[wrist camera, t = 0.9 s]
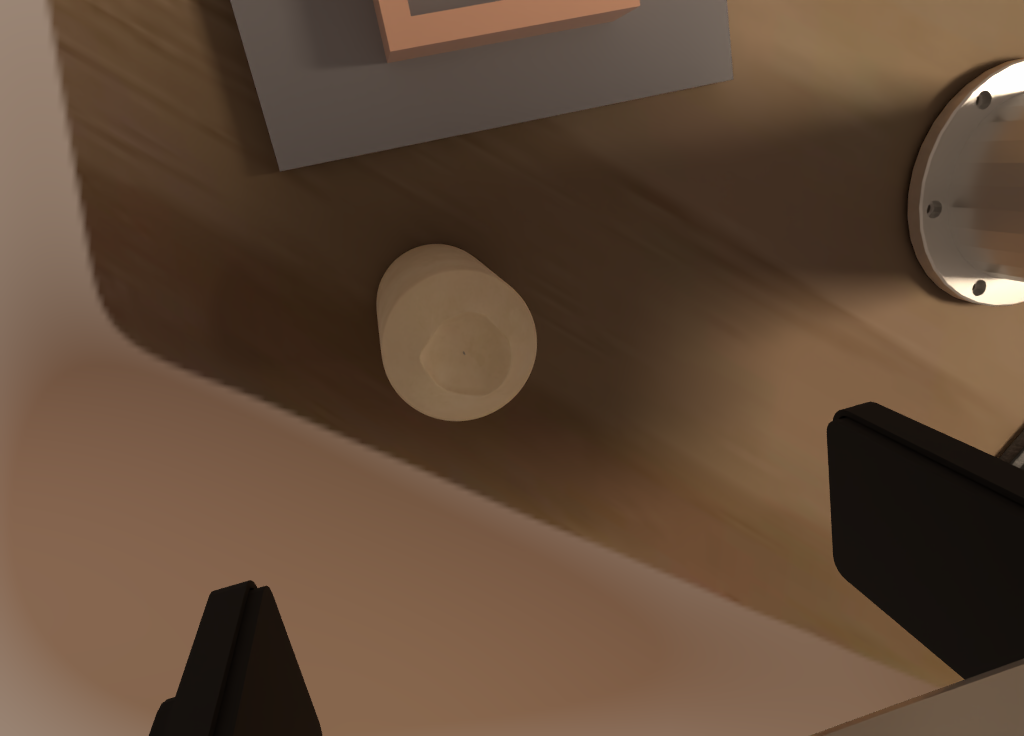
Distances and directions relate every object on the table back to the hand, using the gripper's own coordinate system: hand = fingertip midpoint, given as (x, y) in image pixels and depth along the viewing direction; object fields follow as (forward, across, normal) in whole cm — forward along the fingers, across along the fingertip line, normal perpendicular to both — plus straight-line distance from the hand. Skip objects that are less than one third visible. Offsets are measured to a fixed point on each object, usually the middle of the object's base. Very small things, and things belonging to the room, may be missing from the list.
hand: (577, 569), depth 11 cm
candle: (+23, 0, 0) cm, 23 cm away
